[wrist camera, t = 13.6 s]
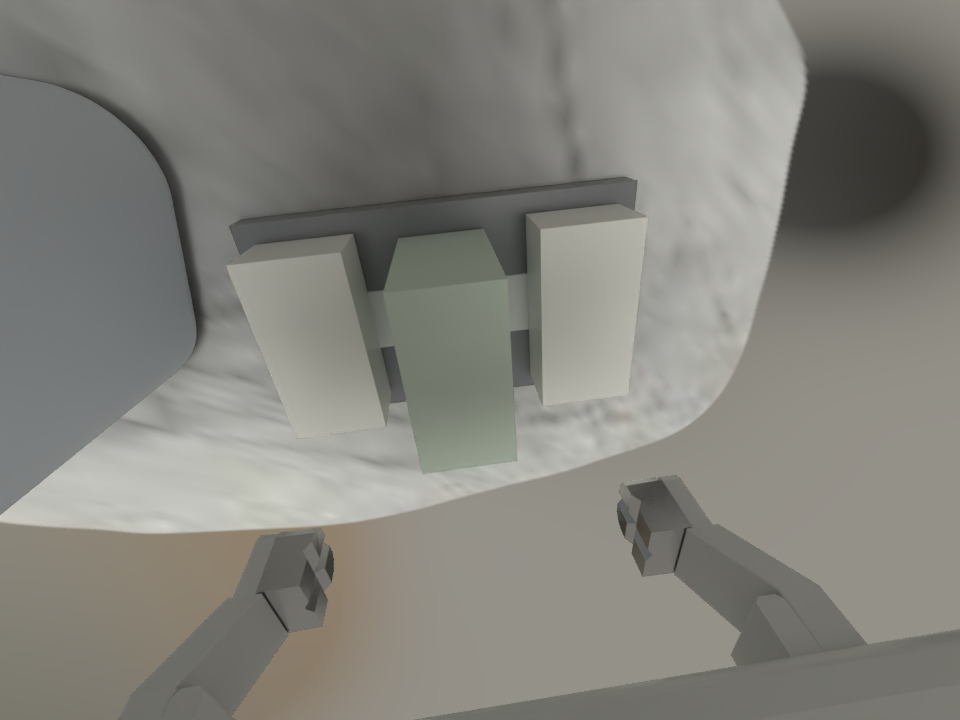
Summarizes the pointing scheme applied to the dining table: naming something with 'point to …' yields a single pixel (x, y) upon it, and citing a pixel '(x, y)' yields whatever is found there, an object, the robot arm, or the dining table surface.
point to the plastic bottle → (80, 279)
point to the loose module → (453, 348)
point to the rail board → (363, 316)
